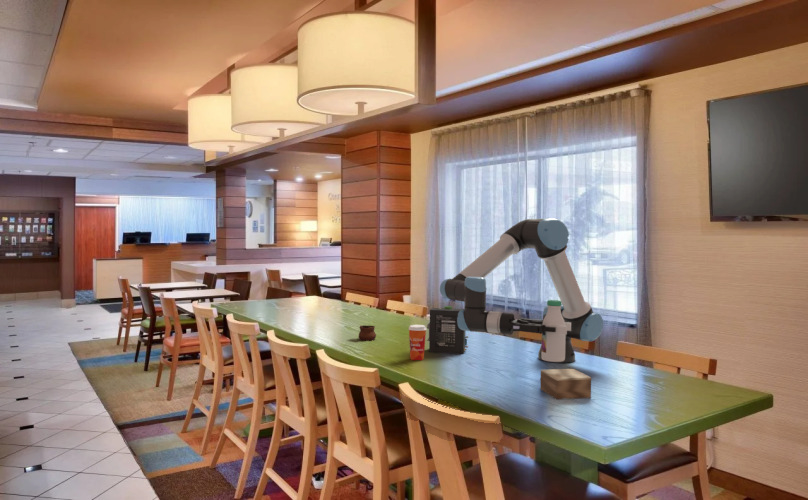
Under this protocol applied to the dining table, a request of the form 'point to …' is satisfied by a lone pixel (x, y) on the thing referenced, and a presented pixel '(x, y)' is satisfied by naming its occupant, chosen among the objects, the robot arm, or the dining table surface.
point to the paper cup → (417, 341)
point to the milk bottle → (553, 342)
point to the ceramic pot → (367, 333)
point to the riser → (565, 383)
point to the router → (446, 331)
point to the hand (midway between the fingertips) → (568, 328)
